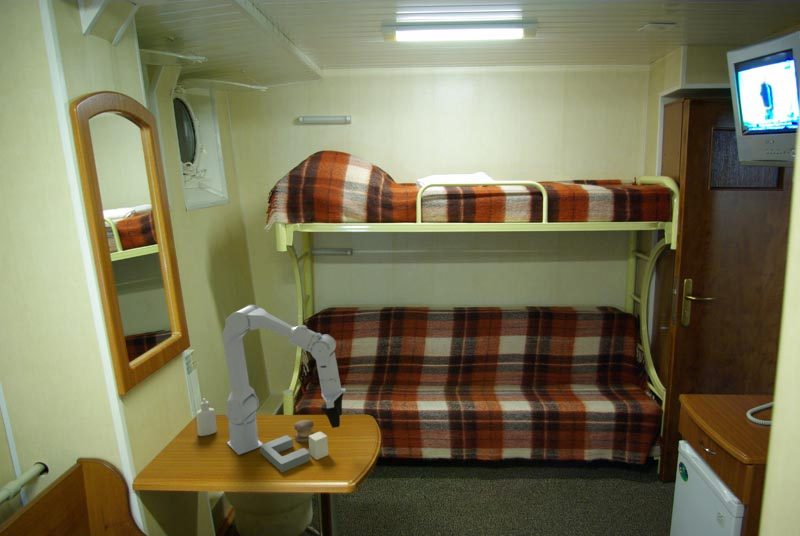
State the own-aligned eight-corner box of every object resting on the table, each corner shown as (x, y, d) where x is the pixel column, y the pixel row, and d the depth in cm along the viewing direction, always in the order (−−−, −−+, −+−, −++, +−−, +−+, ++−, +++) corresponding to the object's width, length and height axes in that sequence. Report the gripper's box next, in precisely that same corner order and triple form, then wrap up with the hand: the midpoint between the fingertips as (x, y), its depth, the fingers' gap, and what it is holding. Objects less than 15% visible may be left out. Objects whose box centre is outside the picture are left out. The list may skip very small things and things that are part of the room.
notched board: (260, 452, 146) (259, 445, 146) (287, 442, 152) (287, 434, 152) (282, 472, 136) (281, 464, 135) (310, 460, 141) (309, 452, 141)
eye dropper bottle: (201, 429, 162) (198, 395, 160) (218, 429, 162) (215, 395, 160) (196, 436, 158) (192, 401, 156) (213, 436, 157) (210, 401, 155)
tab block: (309, 454, 145) (308, 435, 144) (321, 449, 147) (320, 431, 146) (316, 460, 142) (315, 440, 141) (328, 454, 144) (327, 436, 143)
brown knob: (291, 437, 155) (290, 424, 154) (308, 430, 159) (307, 418, 158) (301, 444, 151) (300, 430, 150) (317, 437, 154) (317, 424, 154)
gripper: (340, 384, 134) (349, 429, 136) (344, 366, 149) (351, 408, 151) (315, 388, 134) (324, 434, 136) (321, 370, 149) (329, 412, 151)
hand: (337, 420), depth 143 cm, fingers open, 7 cm apart
